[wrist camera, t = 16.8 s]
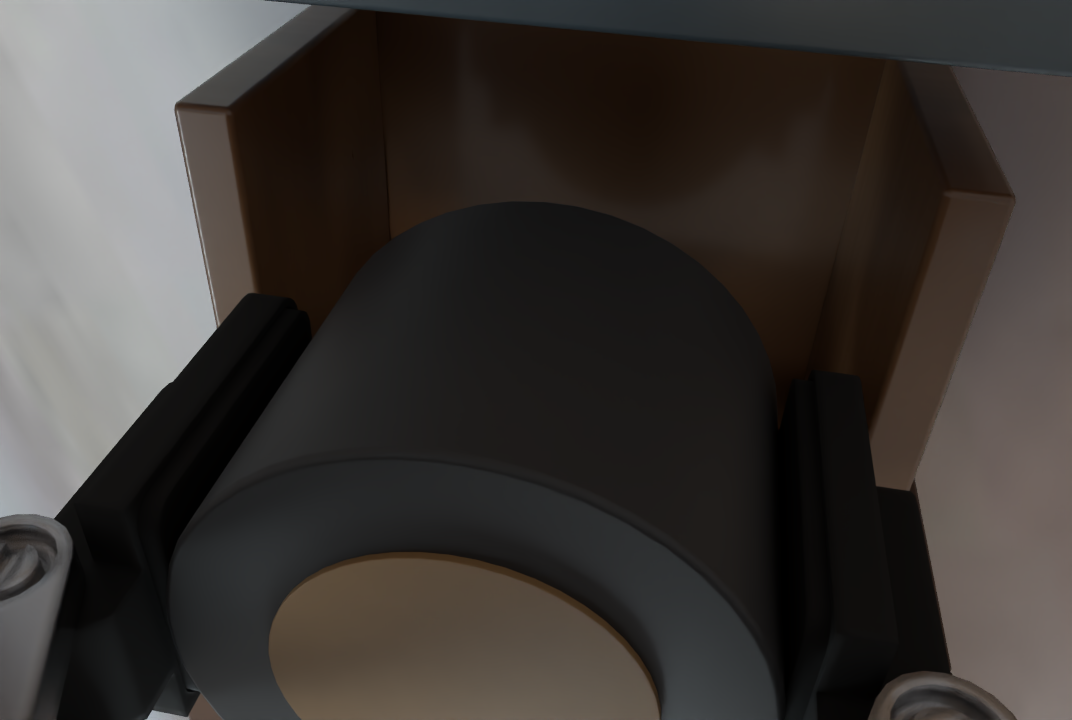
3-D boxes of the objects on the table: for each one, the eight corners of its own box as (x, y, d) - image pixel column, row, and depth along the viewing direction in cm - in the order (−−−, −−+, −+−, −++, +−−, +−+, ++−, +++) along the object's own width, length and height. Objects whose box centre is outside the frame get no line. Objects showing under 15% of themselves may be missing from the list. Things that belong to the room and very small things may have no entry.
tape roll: (694, 132, 10) (659, 387, 6) (827, 528, 13) (855, 861, 9) (247, 272, 12) (32, 523, 9) (445, 585, 15) (346, 872, 12)
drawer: (256, -608, 13) (-128, -825, 7) (1178, -602, 11) (1578, -873, 6) (360, 462, 24) (242, 693, 19) (825, 537, 23) (846, 812, 17)
